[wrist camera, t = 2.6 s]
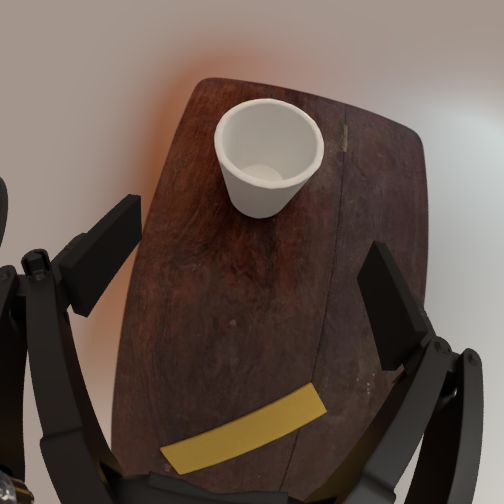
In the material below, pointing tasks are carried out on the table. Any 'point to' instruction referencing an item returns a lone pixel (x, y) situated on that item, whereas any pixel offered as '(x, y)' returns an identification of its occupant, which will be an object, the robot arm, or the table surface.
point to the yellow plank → (246, 431)
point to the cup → (266, 154)
